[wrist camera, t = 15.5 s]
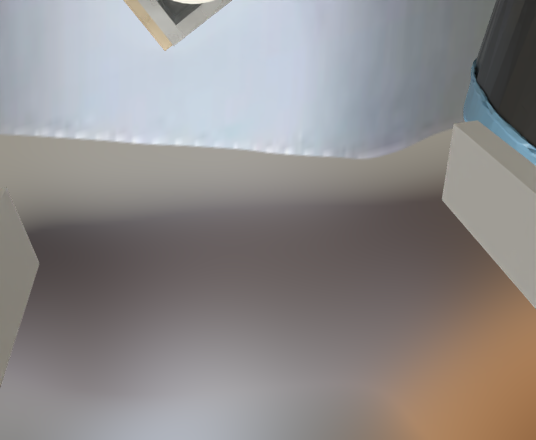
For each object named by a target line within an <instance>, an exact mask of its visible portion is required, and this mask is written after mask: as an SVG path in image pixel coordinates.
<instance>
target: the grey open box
mask: <svg viewBox="0 0 536 440" xmlns="http://www.w3.org/2000/svg"><path fill="white" fill-rule="evenodd" d="M124 1H125V3H126V4H127V5H128V6H129V8H130V9H131V10H132V11H133V12H134V14H135V15H136V16H137V17H138V19H139V20H140V21H141V22H142V24H143V25H144V26H145V27H146V28H147V30H148V31H149V32H150V33H151V35H152V36H153V37H154V38H155V39H156V41H157V42H158V43H159V44H160V46H161V47H162V48H163V49H164V51H166V50H167V49H168V48H169V47H171V46H172V45H173V46H174V45H176V44H177V43H178V42H180V41H181V40H182V39H183V38H185V37H186V36H187V35H188V34H190V33H191V32H192V31H194V30H195V29H196V28H197V27H199V26H200V25H201V24H203V23H204V22H205V21H206V20H208V19H209V18H210V17H211V16H213V15H214V14H215V13H217V12H218V11H219V10H220V9H222V8H223V7H224V6H226V5H227V4H228V3H229V2H231V1H232V0H214V1H211V2H206V3H201V4H187V3H181V2H176V1H173V0H124Z"/></svg>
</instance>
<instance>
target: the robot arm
mask: <svg viewBox="0 0 536 440" xmlns="http://www.w3.org/2000/svg"><path fill="white" fill-rule="evenodd" d="M464 120H465V122H462V123H455V124H454V126H453V132H452V139H451V145H450V151H449V158H448V165H447V171H446V177H445V184H444V190H443V196H442V200H443V202H445V204H446V205H447V206H448V207H449V208H450V210H451V211H452V212H453V213H454V214H455V215H456V217H457V218H458V219H459V220H460V221H461V222H462V224H463V225H464V226H465V227H466V228H467V229H468V230H469V232H470V233H471V234H472V235H473V236H474V238H475V239H476V240H477V241H478V242H479V243H480V245H481V246H482V247H483V248H484V249H485V250H486V251H487V253H488V254H489V255H490V256H491V257H492V258H493V260H494V261H495V262H496V263H497V264H498V265H499V267H500V268H501V269H502V270H503V271H504V272H505V273H506V275H507V276H508V277H509V278H510V279H511V281H512V282H513V283H514V284H515V285H516V286H517V288H518V289H519V290H520V291H521V292H522V293H523V295H524V296H525V297H526V298H527V299H528V300H529V302H530V303H531V304H532V305H533V306H534V307H535V309H536V0H496V3H495V6H494V9H493V12H492V15H491V18H490V21H489V24H488V27H487V30H486V33H485V36H484V39H483V42H482V45H481V48H480V51H479V54H478V57H477V58H476V60H475V61H474V62H473V65H472V68H471V82H470V86H469V90H468V93H467V97H466V100H465V104H464ZM38 266H39V261H38V259H37V257H36V254H35V252H34V250H33V247H32V246H31V243H30V240H29V238H28V236H27V233H26V231H25V229H24V226H23V224H22V222H21V219H20V217H19V215H18V213H17V210H16V208H15V206H14V203H13V201H12V199H11V196H10V194H9V191H8V189H7V187H4V188H0V387H1V384H2V381H3V378H4V374H5V371H6V368H7V365H8V362H9V358H10V355H11V352H12V349H13V346H14V342H15V339H16V336H17V333H18V330H19V326H20V323H21V320H22V317H23V314H24V311H25V307H26V304H27V301H28V298H29V294H30V291H31V288H32V285H33V282H34V279H35V275H36V272H37V269H38Z"/></svg>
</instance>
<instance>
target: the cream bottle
mask: <svg viewBox="0 0 536 440" xmlns="http://www.w3.org/2000/svg"><path fill="white" fill-rule="evenodd" d="M173 1H176V2H181V3H187V4H201V3H206V2H211V1H214V0H173Z"/></svg>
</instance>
